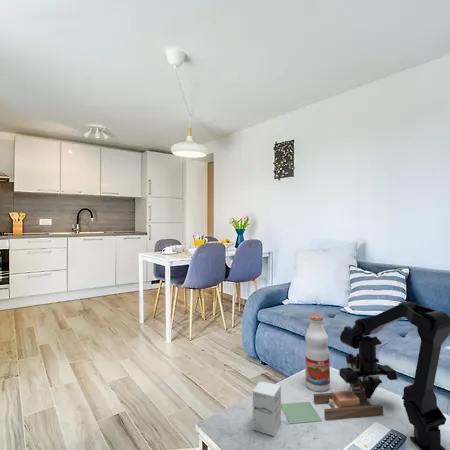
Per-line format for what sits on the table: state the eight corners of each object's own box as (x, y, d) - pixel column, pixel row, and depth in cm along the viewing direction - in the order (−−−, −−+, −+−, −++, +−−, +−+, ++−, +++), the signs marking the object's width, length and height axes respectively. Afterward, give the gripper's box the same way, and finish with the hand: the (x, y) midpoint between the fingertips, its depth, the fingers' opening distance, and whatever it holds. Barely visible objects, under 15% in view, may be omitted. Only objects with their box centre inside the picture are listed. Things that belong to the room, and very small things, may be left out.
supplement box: (252, 430, 96) (251, 390, 96) (260, 417, 103) (260, 379, 103) (274, 437, 93) (273, 396, 93) (282, 423, 99) (281, 384, 99)
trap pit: (379, 412, 104) (379, 412, 104) (361, 414, 103) (361, 413, 103) (367, 400, 111) (367, 400, 111) (350, 401, 111) (350, 401, 111)
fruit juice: (326, 380, 126) (325, 313, 127) (332, 392, 117) (331, 319, 117) (303, 379, 127) (302, 312, 128) (308, 391, 118) (306, 319, 118)
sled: (360, 412, 103) (360, 400, 103) (338, 414, 103) (337, 401, 103) (350, 400, 110) (349, 389, 110) (329, 402, 110) (328, 390, 110)
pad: (322, 421, 100) (322, 420, 100) (289, 423, 99) (289, 423, 99) (309, 402, 111) (309, 401, 111) (280, 404, 110) (280, 403, 110)
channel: (383, 415, 102) (382, 406, 102) (326, 420, 100) (325, 411, 101) (365, 398, 113) (365, 390, 113) (313, 402, 111) (313, 394, 111)
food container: (370, 394, 115) (370, 368, 115) (353, 393, 116) (352, 367, 116) (362, 378, 127) (362, 354, 127) (347, 377, 128) (346, 353, 128)
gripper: (378, 343, 117) (379, 384, 116) (331, 346, 115) (332, 388, 115) (397, 355, 105) (399, 400, 105) (346, 359, 104) (347, 405, 103)
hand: (368, 398), depth 107 cm, fingers closed
